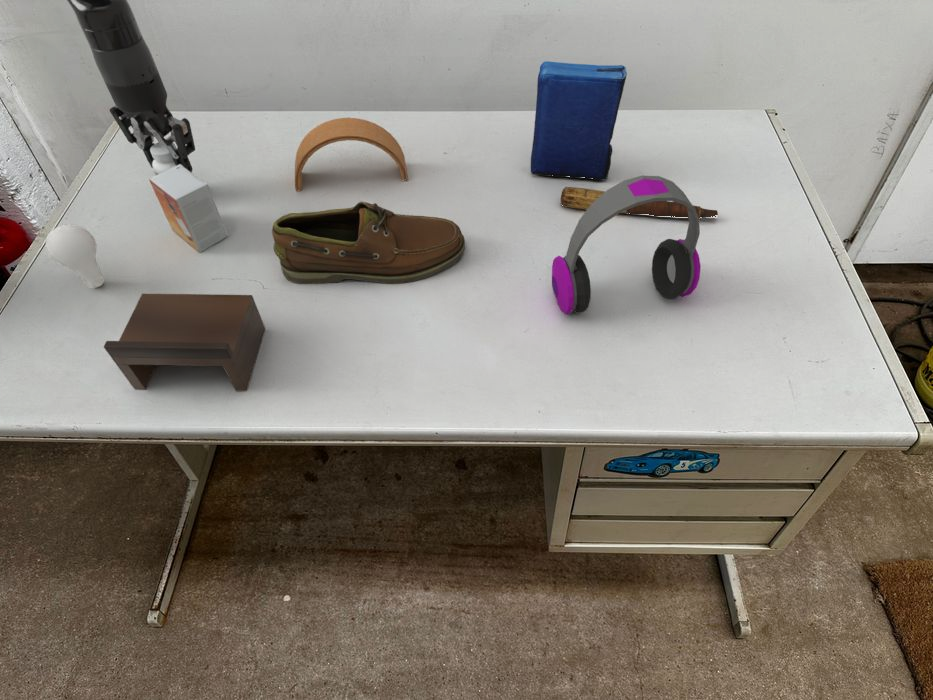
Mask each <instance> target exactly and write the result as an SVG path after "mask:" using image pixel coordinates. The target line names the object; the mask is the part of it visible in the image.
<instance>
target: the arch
mask: <svg viewBox="0 0 933 700" xmlns="http://www.w3.org/2000/svg"><path fill="white" fill-rule="evenodd" d="M397 140H398V139H396V138H395V137H394V136H393V134H391V133H390V132H389V131H387V129H385V127H382V126H381V125H380V124H377V123H375V122H373V121H369V120H366V119H362V118H357V117H340V118H334V119H331V120H330V119H329V120H327V121H324V122H323V123H320V124H319V125H316V126H315V127H314V128H312V129H311V130H310V131H309V132H308V133H307V134H306V135H305V136H304V137H303V139H302V140H301V141H300V143H299V145H298V147H297V150H296V154H295V160H294V161H295V162H294V187H295V188H294V189H295V192H302V190H303V170H304V167H305V165H306V164H307V162H308V161H309V159H310V158H311V157H312V156H313V155H314V154H315V153H316V152H317V151H319V150H321V148H324V147H326V146H327V145H330V144H333V143H337V142H344V141H357V142H362V143H366V144H370V145H372V146H375V147H377V148H378V149H380V150H382V151H383V152H385V153H386V154H388V155H389V156H390V158H391V159H393V161H394V162H395V164H396V165H397V167H398V169H399V172H400V176H401V180H405V179H406V180H408V181H409V178H408V171H407V165H406V159H405V154H404V151H403V149H402V147H401V145H400V143H399V142H398V141H397Z"/></svg>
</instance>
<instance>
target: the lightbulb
mask: <svg viewBox="0 0 933 700" xmlns="http://www.w3.org/2000/svg"><path fill="white" fill-rule="evenodd" d="M97 246H98V245H97V241H96V239H95V238H94V236H93V235H92V233H91V232H90V231H89V230H87V229H86V228H84V227H82V226H79V225H76V224H69V223H68V224H62V225H58V226H56V227H55V228H53V229H52V230H51V231H50V232H49V233H48V234H47V237H46V240H45V249H46V252H47V254H48V255H49V257H50V259H52V260H53V261H54V262H55V263H56V264H58V265H60V266H62V267H64V268H67V269H69V270H70V271H72V272H73V273H74V274H75V275H76V276H77V277H78V278H79V279H80V280H82V281H83V283H84V284H85V285H86V286H87V288H91V289H96V288H99V287H101V286H102V285H103V284H104V283H105V278H104V276H103V274H102V272H101V268H100V266H99V264H98V261H97V252H98V251H97V248H98V247H97Z"/></svg>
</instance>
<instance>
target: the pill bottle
mask: <svg viewBox="0 0 933 700" xmlns="http://www.w3.org/2000/svg"><path fill="white" fill-rule="evenodd" d="M172 145H173V147H174V148H175V149H177V145H176V143H175V142H173V143H172ZM150 152H151V154H152V157H153V159H154V160H153V163H152V167H153V168H152V167H151V168H152V169H153V172H154V174H155V176H156V175H158V174H160V173H162V172H164V171H166V170H168V169H170V168H173V167H175V166H176V165H175V163H174V160H173V156H172V155H171V154H170V152H169V151H168V150H167V148H166V147H162V146H161V145H160V143H159V142H158V141H157V142H156V143H155V144H154V145H153V146H152V147H151V148H150Z"/></svg>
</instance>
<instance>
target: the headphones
mask: <svg viewBox="0 0 933 700" xmlns="http://www.w3.org/2000/svg"><path fill="white" fill-rule="evenodd" d="M654 201H669V202H677V203H680V204H683V205H685V206H686V207H687V209H688V218H689V219H688V226H687V230H686V236H685V238H684V239H683V238H679V239H673V238H667V239H664V240H663V241H661V242H660V243H659V244H658V246H657V247H656V248H655V250H654V251H653V255H652V259H651V260H652V261H651V275H652V281H653V284H654V287H655V289H656V290H657V292H658V293H659V294H660V295H661V296H662V297H663V298H666V299H668V300H673V299H676V298H677V299H678V298H679V297H680V298H686V297H688V296H690V295H692V294H693V293H694V291H696V289H697V288H698V285H699V282H700V279H701V267H702V266H701V261H700V254H699V253H698V250H697V248H696V247H697V244H698V240H699V238H700V235H701V234H700V233H701V232H700V231H701V230H700V229H701V228H700V220H699V217H698V215H697V212H696V210H695V208H694V207H693V203H692V202H691V201H690V198H688V196H687V195H686V194H685V191H683V189H682V188H680V187H679V186H678V185H677V184H676V183H675V182H674V181H672V180H670V179H668V178H665V177H662V176H660V175H639V176H635V177H631V178H627V179H624V180H622V181H620V182H619V183H617V184H615V185H613V186H612V187H610V188H608V189H606V190H605V192H604V193H603V194H602V195H601V196H600V197H599V198H597V199H596V200H595V201H594V202H593V203H592V204H591V205H590V206H589V208H588V209H587V210H586V209H585V212H584V213H583V214H582V215H581V217H580V218H579V219H578V222H577V224H576V226H575V228H574V230H573V232H572V234H571V237H570V240H569V243H568V247H567V250H566V254H565V256H561V255H557V256H555V257H554V258H553V260H552V264H551V287H552V293H553V295H554V298H555V300H556V303H557V306H558V308H559V309H560V311H561V312H562V313H563V314H564V315H570V314H572V312H574V313H577V314H582V313H584V312H586V311H587V310H588V309H589V306H590V303H591V297H592V296H591V295H592V288H591V280H590V275H589V271H588V268H587V265H586V263H585V261H584V260H583V258H582V257H581V255H580V251H581V250H582V249H583V247H584V245H585V243H586V242H587V240H588V238H589V237H590V236H591V235H592V234H593V233H594V232H595V231H597V230H598V229H599V228H600V227H601V226H602V225H603V224H605V223H607V222H608V221H610V220H611V219H613V218H614V217H616V216H617V215H620V214H619V213H621V212H623V211H626V210H628V209H630V208H633V207H635V206H637V205H641V204H646V203H650V202H654Z"/></svg>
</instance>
